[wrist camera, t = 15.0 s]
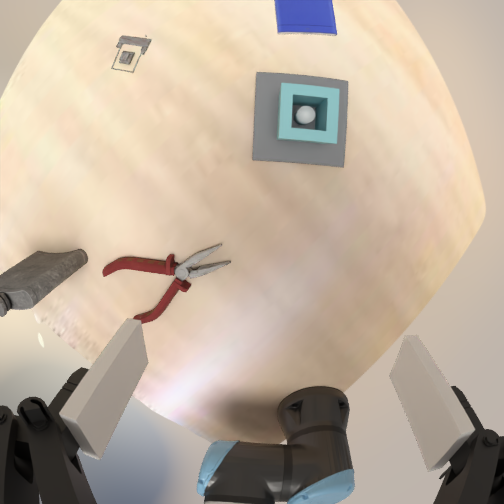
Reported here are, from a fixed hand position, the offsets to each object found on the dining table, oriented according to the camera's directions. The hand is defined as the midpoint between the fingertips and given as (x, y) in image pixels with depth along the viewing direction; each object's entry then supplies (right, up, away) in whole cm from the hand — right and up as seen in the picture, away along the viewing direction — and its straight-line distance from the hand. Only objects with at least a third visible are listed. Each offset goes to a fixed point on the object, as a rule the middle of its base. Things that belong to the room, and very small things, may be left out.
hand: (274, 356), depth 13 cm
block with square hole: (+5, +22, +21) cm, 31 cm away
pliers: (-15, 0, +33) cm, 36 cm away
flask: (-37, +4, +32) cm, 49 cm away
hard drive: (+6, +41, +16) cm, 44 cm away
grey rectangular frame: (-20, +38, +19) cm, 47 cm away
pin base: (+5, +23, +22) cm, 32 cm away
